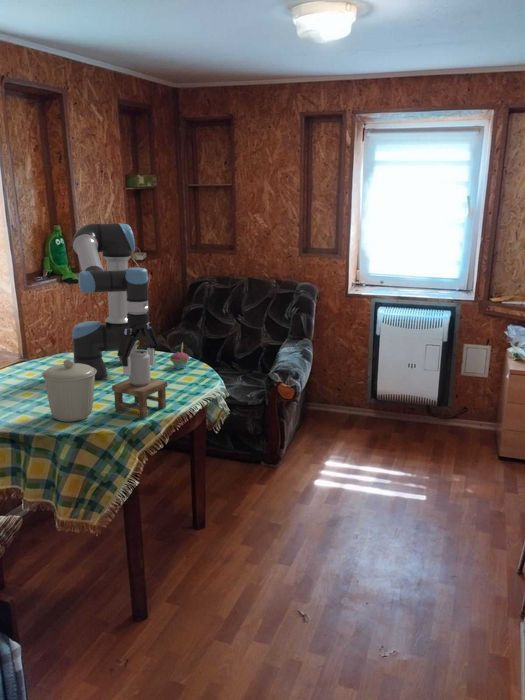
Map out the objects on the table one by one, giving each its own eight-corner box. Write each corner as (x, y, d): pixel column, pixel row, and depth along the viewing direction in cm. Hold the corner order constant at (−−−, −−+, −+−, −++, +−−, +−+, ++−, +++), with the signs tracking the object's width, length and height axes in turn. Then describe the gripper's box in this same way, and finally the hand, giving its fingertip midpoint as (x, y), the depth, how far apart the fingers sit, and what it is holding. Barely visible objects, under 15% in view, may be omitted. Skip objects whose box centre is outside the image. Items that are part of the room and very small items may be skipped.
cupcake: (179, 364, 272) (179, 339, 269) (193, 367, 267) (193, 342, 264) (166, 367, 265) (166, 342, 262) (180, 371, 261) (179, 345, 258)
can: (154, 381, 213) (153, 350, 210) (143, 387, 206) (142, 355, 203) (136, 379, 215) (135, 348, 212) (125, 385, 208) (124, 353, 205)
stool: (113, 411, 210) (112, 385, 208) (137, 400, 222) (137, 375, 220) (144, 419, 204) (143, 392, 202) (167, 407, 216) (167, 381, 214)
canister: (37, 426, 195) (33, 366, 190) (53, 407, 213) (49, 352, 208) (92, 426, 196) (89, 366, 191) (103, 407, 214) (101, 352, 209)
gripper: (122, 319, 192) (124, 380, 197) (167, 307, 213) (168, 363, 219) (105, 317, 195) (107, 377, 200) (151, 305, 216) (152, 360, 222)
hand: (139, 369), depth 210 cm, fingers open, 13 cm apart
